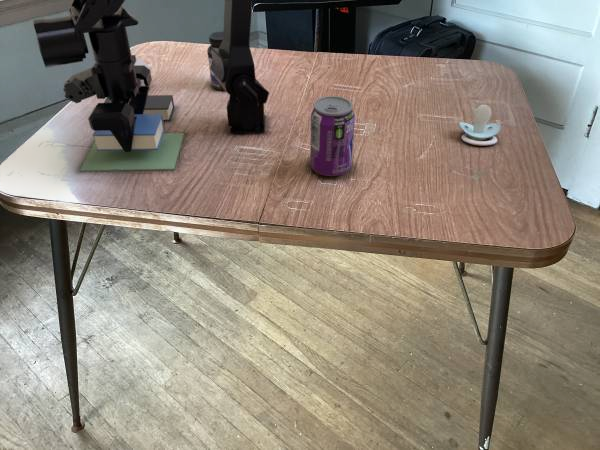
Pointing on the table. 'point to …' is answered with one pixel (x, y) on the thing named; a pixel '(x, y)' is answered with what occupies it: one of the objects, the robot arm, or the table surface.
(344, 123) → the beverage can
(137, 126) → the blue book
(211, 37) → the pill bottle
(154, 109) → the black notebook
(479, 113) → the pacifier
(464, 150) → the table surface
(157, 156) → the green mat
